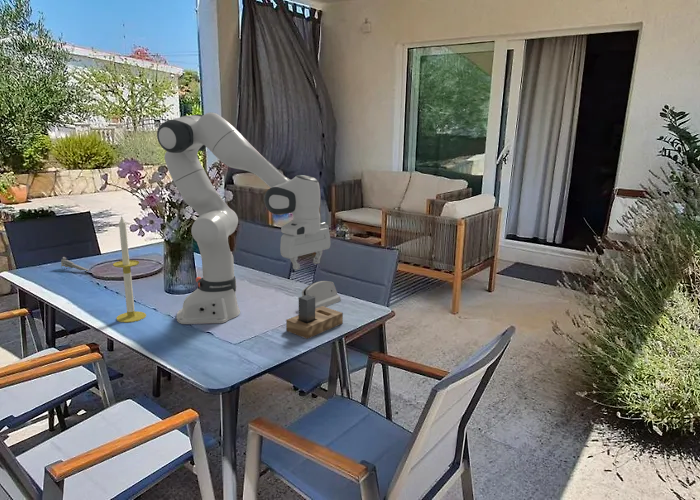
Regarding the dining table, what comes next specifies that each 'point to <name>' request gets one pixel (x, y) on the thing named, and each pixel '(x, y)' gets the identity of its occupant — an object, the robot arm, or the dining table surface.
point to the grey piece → (322, 293)
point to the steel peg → (306, 309)
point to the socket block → (315, 323)
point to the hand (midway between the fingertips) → (306, 266)
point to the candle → (127, 278)
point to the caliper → (71, 264)
